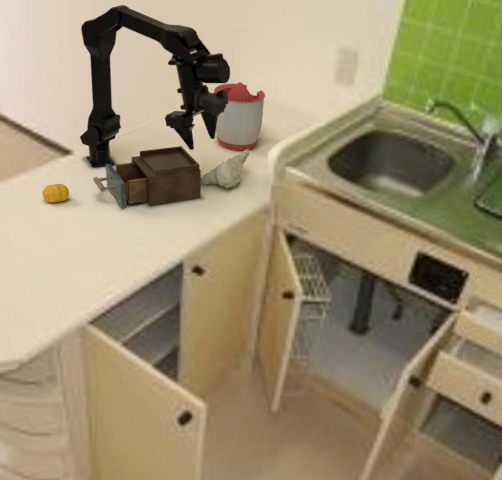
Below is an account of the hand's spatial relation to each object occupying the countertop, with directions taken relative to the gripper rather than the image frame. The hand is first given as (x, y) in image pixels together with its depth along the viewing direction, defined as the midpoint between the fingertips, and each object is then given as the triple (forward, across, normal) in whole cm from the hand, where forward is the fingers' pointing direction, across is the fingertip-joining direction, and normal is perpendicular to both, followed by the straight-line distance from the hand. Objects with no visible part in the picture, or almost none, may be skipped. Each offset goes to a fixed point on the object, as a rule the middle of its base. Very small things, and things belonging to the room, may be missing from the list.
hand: (202, 144), depth 169 cm
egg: (+8, -27, +29) cm, 40 cm away
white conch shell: (+15, +12, +3) cm, 20 cm away
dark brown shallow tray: (+4, -5, +10) cm, 12 cm away
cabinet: (+13, -5, +12) cm, 18 cm away
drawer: (+11, -13, +16) cm, 23 cm away
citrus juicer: (+13, +37, +15) cm, 42 cm away
